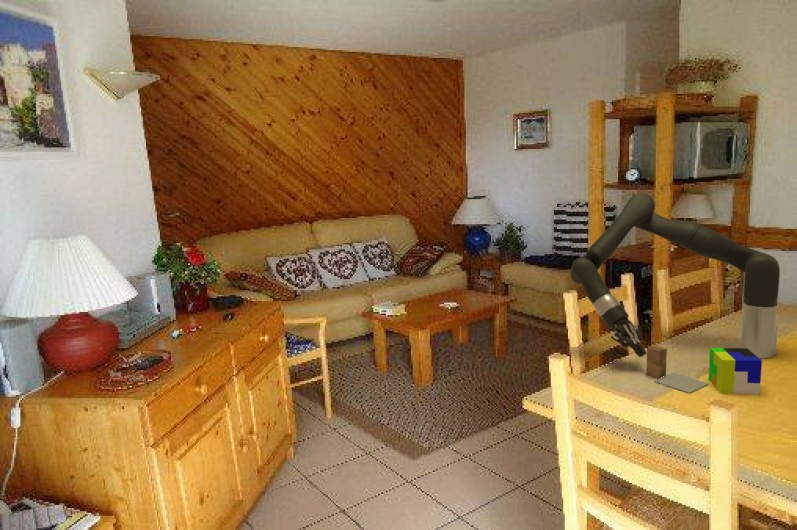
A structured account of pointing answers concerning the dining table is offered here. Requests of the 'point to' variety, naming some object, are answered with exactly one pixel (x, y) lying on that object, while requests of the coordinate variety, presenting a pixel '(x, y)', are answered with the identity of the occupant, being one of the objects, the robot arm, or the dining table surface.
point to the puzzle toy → (735, 370)
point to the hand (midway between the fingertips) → (643, 355)
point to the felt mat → (681, 382)
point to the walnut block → (656, 361)
